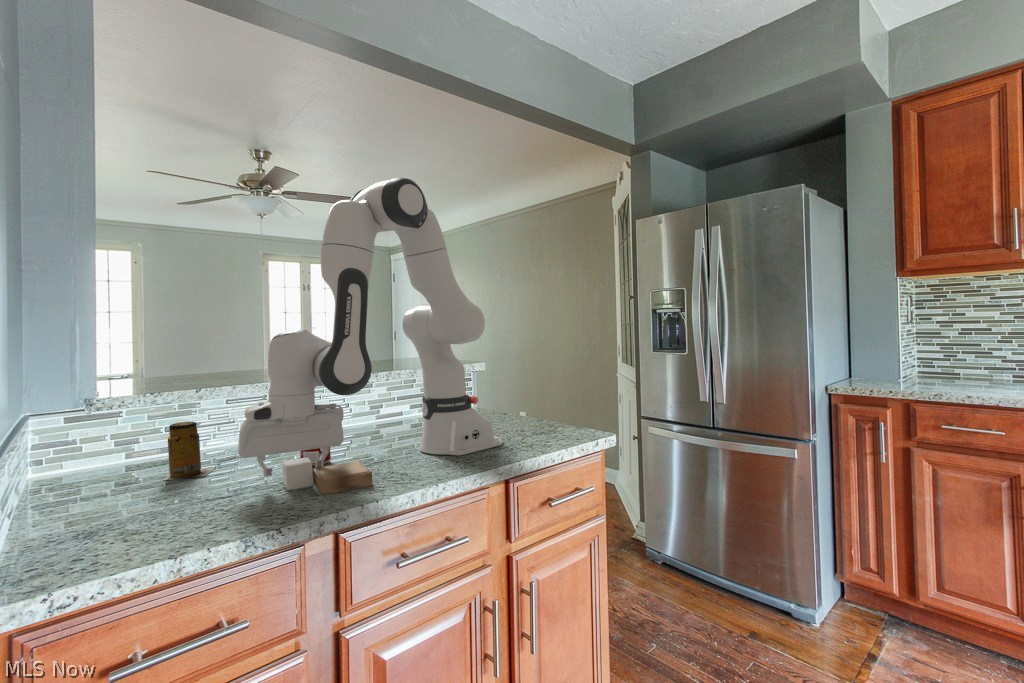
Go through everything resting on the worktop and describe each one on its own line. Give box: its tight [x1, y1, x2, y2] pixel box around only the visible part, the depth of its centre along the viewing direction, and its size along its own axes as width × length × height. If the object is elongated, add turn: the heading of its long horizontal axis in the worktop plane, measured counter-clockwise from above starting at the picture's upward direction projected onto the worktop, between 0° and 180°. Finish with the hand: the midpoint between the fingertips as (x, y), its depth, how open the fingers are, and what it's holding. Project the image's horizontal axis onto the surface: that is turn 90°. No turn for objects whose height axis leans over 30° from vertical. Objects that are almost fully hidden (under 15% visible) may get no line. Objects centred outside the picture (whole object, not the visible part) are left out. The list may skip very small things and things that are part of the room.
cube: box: [282, 457, 314, 491], centre depth 102 cm, size 5×5×5 cm
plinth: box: [312, 460, 373, 496], centre depth 102 cm, size 10×10×3 cm
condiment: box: [162, 421, 216, 481], centre depth 111 cm, size 7×8×12 cm
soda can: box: [299, 447, 331, 468], centre depth 117 cm, size 7×7×12 cm
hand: (293, 472), depth 101 cm, fingers open, 8 cm apart
